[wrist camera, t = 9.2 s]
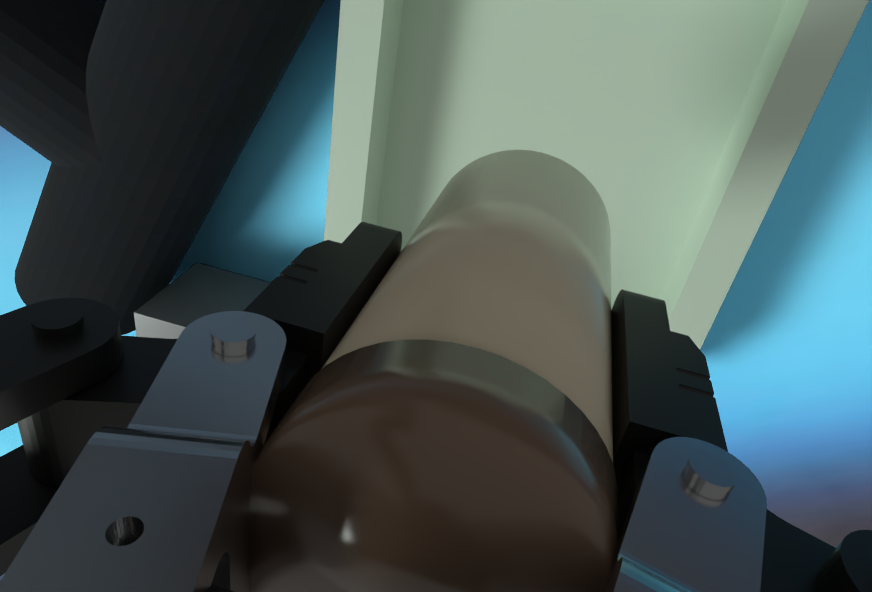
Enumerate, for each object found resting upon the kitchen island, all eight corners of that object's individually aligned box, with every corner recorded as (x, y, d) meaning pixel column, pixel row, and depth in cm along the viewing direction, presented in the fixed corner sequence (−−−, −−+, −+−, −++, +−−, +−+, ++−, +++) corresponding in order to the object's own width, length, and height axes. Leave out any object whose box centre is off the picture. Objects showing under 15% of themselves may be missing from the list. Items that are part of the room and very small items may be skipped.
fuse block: (196, 262, 25) (133, 312, 22) (406, 319, 24) (374, 381, 21) (210, 516, 34) (166, 580, 30) (366, 567, 33) (338, 639, 29)
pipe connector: (-200, 164, 21) (-172, -372, 13) (-59, 122, 25) (25, -294, 17) (100, 362, 22) (285, -2, 15) (182, 290, 27) (357, -19, 19)
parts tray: (386, -171, 17) (353, -187, 14) (869, -86, 15) (912, -90, 13) (343, 284, 24) (318, 318, 22) (662, 370, 23) (668, 414, 21)
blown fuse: (446, 127, 13) (222, 378, 5) (639, 173, 13) (689, 518, 5) (418, 290, 15) (227, 634, 8) (582, 335, 15) (555, 750, 7)
